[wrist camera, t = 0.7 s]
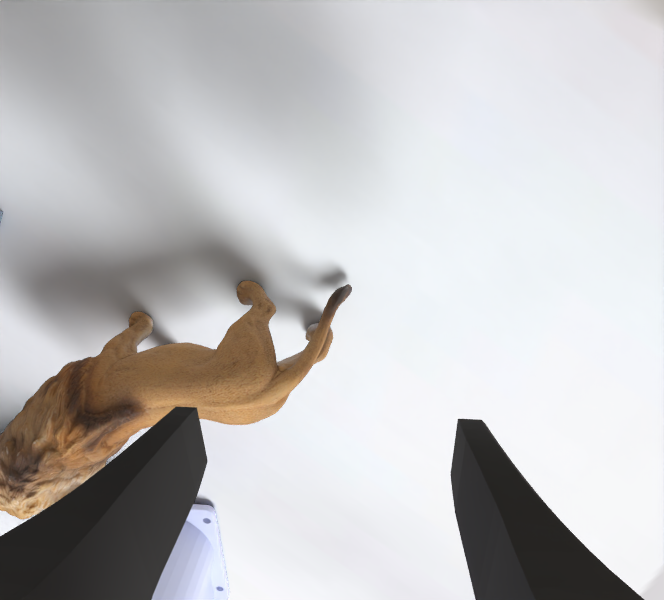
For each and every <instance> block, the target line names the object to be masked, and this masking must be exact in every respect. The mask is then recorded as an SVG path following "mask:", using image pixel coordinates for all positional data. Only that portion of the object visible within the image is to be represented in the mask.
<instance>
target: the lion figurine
mask: <svg viewBox="0 0 664 600" xmlns="http://www.w3.org/2000/svg"><path fill="white" fill-rule="evenodd" d="M351 291H352V287H351V286H350V285H349V284H347V285H346V286H344V287H340V288H338V289H337V290H336V291H335V292H334V293H333V294H332V295H331V297H330V298H329V300H328V302H327V305H326V307H325V308H324V311H323V314H322V317H321V319H320V321H319V323H315V324H312V325H310V326H309V327H308V329H307V333H306V339H307V340H308V341H310V342H309V343H308V345H307V346H306V348H305V349H304V350H303V351H301V352H300V353H298V354H296V355H294V356H291V357H289V358H286V359H284V360H282V361H279V362H276V355H275V349H274V345H273V341H272V337H271V334H270V331H269V326H268V324H269V320H270V318H271V317H272V316H273V315H274V314H275V312H276V306H275V305H274V304H273V302H272V301H271V300H270V299H269V298H268V296H267V295H266V293H265V291H264V290H263V288H262V287H261V286H260V285H259V284H257V283H255V282H252V281H242V282H241V283H240V284H239V285H238V287H237V297H238V299H239V301H240V302H241V303H242V304H243V305H253V306H252V308H251V309H250V311H248V312H247V313H246V314H245V315H243V316H242V317H241V318H240V319H239V320H238V321H236V322H235V323H234V324H232V325H231V326H230V328H229V329H228V331H227V333H226V335H225V337H224V338H223V340H222V342H221V343H220V344H219V345H218V347H217V349H214V350H213V349H210V348H208V347H204V346H201V345H197V344H192V343H173V344H167V345H161V346H157V347H154V348H151V349H148V350H145V351H142V352H139V353H137V346H138V345H139V343H140V342H141V341H143V340H144V339H145V338H147V337H148V336H149V335H150V334H151V332H152V330H153V320H152V319H151V317H149V316H148V315H146V314H145V313H143V312H134V313H133V314H132V315H131V317H130V318H129V328H128V329H126V330H125V331H123V332H122V333H121V334H119V335H117V336H115V337H114V338H112V339H111V340H110V341H109V342H108V343H107V344H106V345H105V346H104V348H103V350H102V352H101V353H100V354H99V355H98V356H96V357H88V358H85V359H83V360H78V361H75V362H70V363H68V364H66V365H65V366H64V367H63V368H62V369H61V371H60V372H59V373H58V374H57V375H56V376H53V377H51V378H49V379H48V380H47V381H46V382H45V383H44V384H43V385H42V386H41V387H40V388H39V390H38V391H37V392H36V393H35V394H34V395H33V396H32V397H31V398H30V399H28V401H27V402H26V404H25V406H24V408H23V410H22V411H21V412H20V413H19V414H18V415H17V416H16V418H15V419H14V420H12V421H11V422H10V423H9V424H8V425H7V427H6V428H5V430H4V432H3V433H2V434H1V435H0V510H1V511H6V512H8V513H9V514H10V515H12V516H16V517H17V518H19V519H27V518H30V517H31V516H32V515H36V514H39V513H40V512H41V511H42V510H43V509H46V508H48V507H49V506H51V505H52V504H54V503H55V502H57V501H58V500H60V499H61V498H63V497H64V496H66V495H67V494H68V493H70V492H71V491H73V490H74V489H76V488H77V487H78V486H80V485H81V484H82V483H84V482H85V481H86V480H88V479H89V478H90V477H91V476H93V475H94V474H95V473H97V472H98V471H99V470H101V469H102V468H103V467H104V466H105V464H106V460H107V459H108V458H110V457H111V456H113V455H114V454H116V453H117V452H118V451H119V450H120V449H121V448H122V446H123V445H124V444H125V443H126V442H127V441H128V439H129V437H131V436H132V435H134V434H135V433H137V432H138V431H139V430H141V429H143V428H147V427H151V426H154V425H155V424H156V423H157V422H158V421H159V420H161V419H162V418H163V417H164V416H165V415H166V414H168V413H169V412H170V411H171V410H172V409H174V408H175V407H197V410H198V416H199V419H207V420H211V421H215V422H219V423H223V424H230V425H246V424H251V423H255V422H258V421H260V420H262V419H265V418H267V417H269V416H271V415H273V414H275V413H276V412H277V411H278V410H279V409H280V408H281V407H282V406H283V405H284V403H285V401H286V400H287V398H288V396H289V394H290V392H291V391H292V390H293V389H294V388H295V387H296V386H297V385H298V384H299V383H300V382H301V381H302V379H303V378H304V377H305V376H306V374H307V373H308V372H309V370H310V369H311V367H312V366H313V364H315V363H317V362H319V361H321V360H323V359H324V358H325V357H326V355H327V353H328V351H329V347H330V345H331V343H332V340H333V332H332V330H331V328H330V325H331V322H332V319H333V317H334V315H335V312H336V310H337V309H338V307H339V305H340V304H341V303H343V302H344V301H345V299H346V298H347V297H348V296H349V295H350V293H351Z"/></svg>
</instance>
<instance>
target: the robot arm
mask: <svg viewBox="0 0 664 600" xmlns="http://www.w3.org/2000/svg"><path fill="white" fill-rule="evenodd" d="M206 464H207V456H206V451H205V446H204V441H203V436H202V431H201V426H200V421H199V416H198V410H197V407H175V408H174V409H172V410H171V411H170V412H169V413H168V414H166V415H165V416H164V417H163V418H162V419H161V420H159V421H158V422H157V423H156V424H155V425H154V426H153V427H151V428H150V429H149V430H148V431H147V432H146V433H144V434H143V435H142V436H141V437H140V438H139V439H137V440H136V441H135V442H134V443H133V444H131V445H130V446H129V447H128V448H127V449H126V450H124V451H123V452H122V453H121V454H120V455H118V456H117V457H116V458H115V459H113V460H112V461H111V462H110V463H108V464H107V465H106V466H104V467H103V468H102V469H101V470H99V471H98V472H97V473H95V474H94V475H93V476H91V477H90V478H89V479H88V480H86V481H85V482H84V483H82V484H81V485H80V486H78V487H77V488H76V489H74V490H73V491H71V492H70V493H68V494H67V495H66V496H64V497H63V498H61V499H60V500H58V501H57V502H55V503H54V504H52V505H51V506H49V507H48V508H46V509H45V510H43V511H42V512H40V513H39V514H37V515H35V516H34V517H32V518H31V519H29V520H27V521H26V522H24V523H22V524H20V525H19V526H17V527H15V528H14V529H12V530H10V531H9V532H7V533H5V534H4V535H2V536H0V600H228V598H229V595H230V591H229V586H228V580H227V574H226V569H225V563H224V557H223V552H222V546H221V540H220V535H219V529H218V524H217V518H216V512H215V509H214V508H213V507H211V506H209V505H200V504H194V501H195V499H196V497H197V494H198V491H199V487H200V484H201V481H202V478H203V475H204V471H205V468H206ZM451 482H452V491H453V499H454V507H455V514H456V518H457V522H458V527H459V531H460V535H461V540H462V544H463V548H464V552H465V557H466V561H467V565H468V569H469V573H470V578H471V582H472V586H473V590H474V594H475V599H476V600H644V599H643V598H642V597H641V596H639V595H638V594H637V593H636V592H635V591H634V590H632V589H631V588H630V587H629V586H628V585H627V584H626V583H624V582H623V581H622V580H621V579H620V578H619V577H618V576H616V575H615V574H614V573H613V572H612V571H611V570H609V569H608V568H607V567H606V566H605V565H604V564H603V563H602V562H601V561H600V560H599V559H598V558H597V557H596V556H595V555H594V554H593V553H591V552H590V551H589V550H588V549H587V548H586V547H585V546H584V544H583V543H582V542H581V541H580V540H579V539H578V538H577V537H576V536H575V535H574V534H573V533H572V532H571V531H570V530H569V529H568V528H567V527H566V526H565V525H564V524H563V523H562V522H561V521H560V519H559V518H558V517H557V516H556V515H555V514H554V513H553V512H552V510H551V509H550V508H549V507H548V506H547V505H546V504H545V502H544V501H543V500H542V499H541V498H540V497H539V495H538V494H537V493H536V492H535V491H534V489H533V488H532V487H531V486H530V484H529V483H528V482H527V481H526V479H525V478H524V477H523V476H522V474H521V473H520V472H519V470H518V469H517V468H516V467H515V465H514V464H513V463H512V461H511V460H510V459H509V457H508V456H507V454H506V453H505V452H504V450H503V449H502V448H501V446H500V445H499V443H498V442H497V440H496V439H495V438H494V436H493V435H492V433H491V432H490V430H489V429H488V427H487V426H486V424H485V423H484V422H483V421H482V420H473V419H458V423H457V430H456V438H455V445H454V453H453V461H452V468H451Z"/></svg>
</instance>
